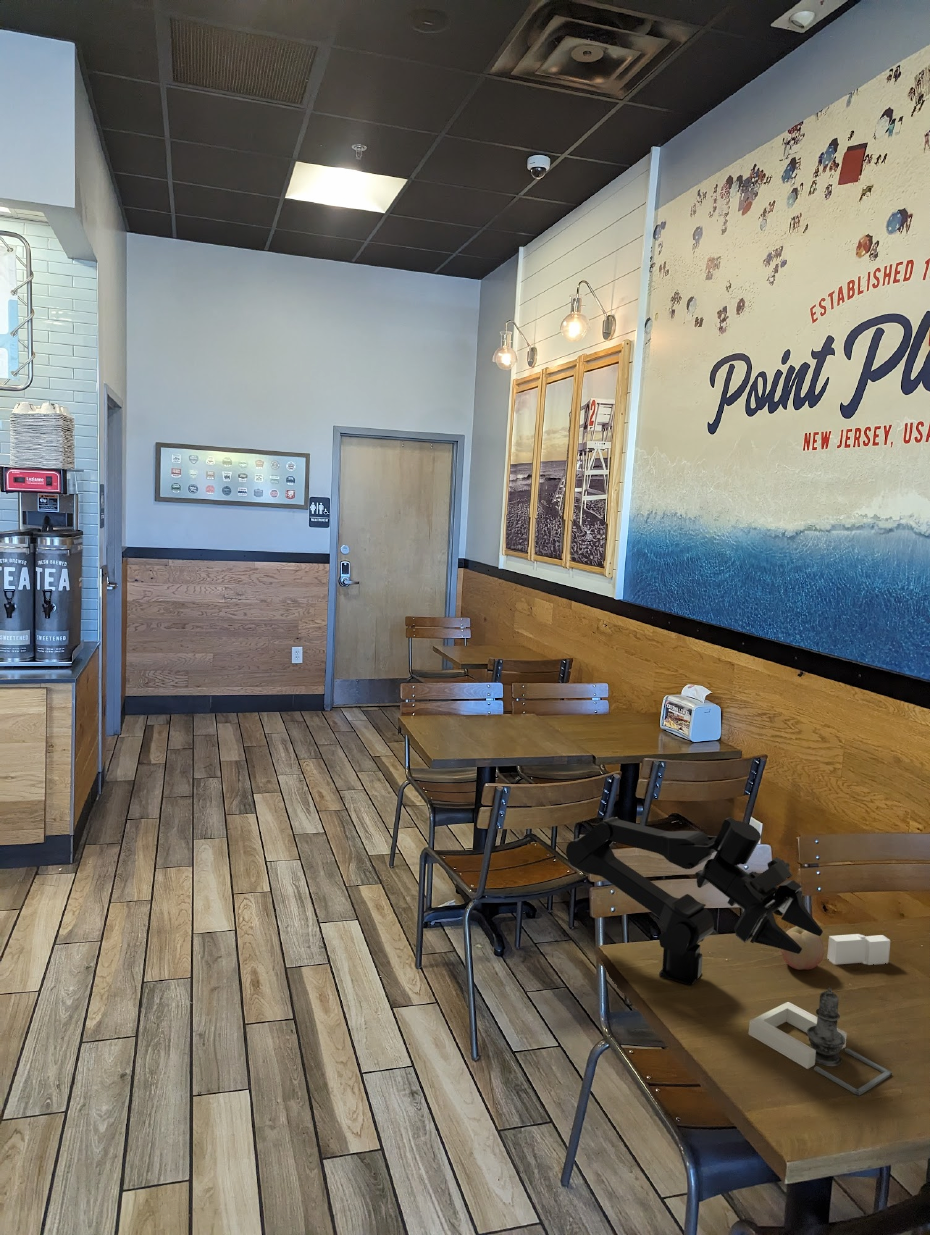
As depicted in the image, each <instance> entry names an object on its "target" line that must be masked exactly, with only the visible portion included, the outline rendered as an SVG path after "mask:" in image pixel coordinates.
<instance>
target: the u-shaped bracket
mask: <svg viewBox="0 0 930 1235" xmlns="http://www.w3.org/2000/svg"><path fill="white" fill-rule="evenodd" d="M817 1018H818V1016H817V1015H814V1014H812V1013H810V1012H808V1011H806V1010H805V1009H803V1008H801V1007H799V1006H797V1005H795V1004H793V1003H791V1002H789V1001H787V1002H784V1003H782V1004H781V1005H779V1006H777V1007H775V1008H773V1009H770V1010H768V1011H766V1012H763V1013H762V1014H760V1015H759V1016H756V1017H754V1018H752V1019H750V1020H749V1026H748V1035H749V1036H750V1037H752V1038H754V1039H756V1040H758V1041H759V1042H761V1043H763V1044H764V1045H766V1046H768V1047H770V1048H771V1049H773V1050H775V1051H777V1053H780V1054H781V1055H784V1056H785V1057H787V1058H788V1059H790V1060H791V1061H793V1062H795V1063H796V1064H798V1065H800V1066H802V1067H803V1068H805V1069H807V1070H809V1069H810V1068H812V1067H815V1065H816V1062H815V1056H816V1050H814V1049H813V1048H811V1047H812V1046H809V1045H807V1044H805V1043H804V1042H802V1041H801V1040H799V1039H797V1038H795V1037H793V1036H791V1035H790V1034H788V1033H786V1032H784V1031H782V1030H781V1029H779V1028H778V1026H780V1025H783V1024H784V1023H788V1024H789V1025H791V1026H793V1027H795V1028H797V1029H799V1030H800V1031H802V1032H804V1033H806V1034H807V1030H808V1028H810V1027H812V1026H816V1025H817ZM837 1031H838V1032H839V1033H841V1034H842V1035H843V1036H844V1038H845V1044H844V1045H843V1047H842V1049H841V1050H843V1049H846V1047H847V1046H846V1045H847V1035H848V1033H847V1031H844V1030H842V1029H840V1028H838V1027H837Z"/></svg>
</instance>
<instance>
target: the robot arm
mask: <svg viewBox="0 0 930 1235" xmlns="http://www.w3.org/2000/svg"><path fill="white" fill-rule="evenodd" d="M761 838H762V835H761V833H760V831H759V830H758V829H757V828H755V826H753V825H751V824H750V823H746V822H744V821H741V820H736V819H734V818H733V817H727V818H725V819H724V820H723V822H722V824H721V828H720V830H719V832H718V833H717V835H716V836H715V835H714V836H713V835H707V834H706V833H705V832H702V831H698V830H697V831H696V830H676V831H667V830H664V829H659V828H655V827H651V826H646V825H642V824H638V823H633V822H631V821H626V820H623V819H620V818H618V817H615V816H612V817H609V818H606V819H604V820H601V821H600V822H599V823H598V824H597V825H595V827H593V829H591V830H590V831H588V832H587V833H586V834H584V835H583V836H580V837H579V838H575V839H574V840H570V841H569V842H568V843H567V845H566V848H565V853H566V855H565V856H566V859H567V863H568V864H569V865H570V866H571V867H572V868H574V869H576V870H579V871H581V872H582V873H585V874H589V875H592V876H599V877H601V878H603V879H604V880H606V881H607V882H609V883H610V884H611V885H613V886H615V888H617V889H618V890H620V891H621V892H622V893H624V894H625V895H627V896H628V897H630V898H631V899H632V900H633V901H635V902H637V903H638V904H639V905H641V906H642V907H644V908H645V909H646V910H648V911H649V912H650V913H652V914H653V915H655V916H656V917H658V919H659V920H660V922H661V924H662V926H663V928H664V929H665V931H664V932H662V933H660V934H658V941H659V945H660V947H661V948H663V952H662V953H663V954H662V967H661V969H660V971H659V973H658V975H659V977H661V978H665V979H668V980H672V981H675V982H677V983H682V984H684V985H687V986H693V985H694V984H695V982H696V981H697V980H698V979H699V978H700V977H701V975H702V971H703V970H702V969H703V953H701V944H699V943H701V942H703V941H704V940H705V938H706V937H707V938H708V936H710V935H711V934H712V933H713V931H714V929H715V921H714V919H713V914H712V913H711V912H710V910H708V909H707V908H706V903H702V902H699V901H698V900H697V899H695V898H694V897H693V896H692V895H691V894H688V893H686V894H684V895H682V896H681V897H674V896H673V895H671V894H669V893H668V892H667V891H665V890H664V889H663V888H661V887H659V886H658V885H656V883H654V882H652V881H650V880H649V879H648V878H646V877H645V876H643V874H640V873H639V872H638V871H636V870H635V869H633V868H632V867H630V866H629V865H627V864H626V863H624V861H621V860H620V859H619V858H617V857H616V855H615V854H614V851H613V850H612V847H611V845H613V843H618V844H621V845H625V846H629V847H633V848H637V849H640V850H644V851H648V852H651V853H656V854H658V855H660V856H662V857H663V858H664V859H666V861H668V862H669V863H671V864H674V865H675V866H677V867H679V868H682V869H684V870H692V869H694V868H695V867H698V866H699V865H701V864H703V863H705V864H704V866H703V868H702V869H700V870H697V871H695V873H694V875H695V878H696V885H697V888H701V889H702V887H704V886H706V885H707V884H711V886H713V887H714V888H716V889H717V890H718V891H719V892H720V893H721V894H723V895H724V896H725V897H727V898H728V901H727V902H726V903H727V904H728V905H730V906H731V907H733V906H735V905H737V906H738V907H739V908H740V909H742V910H743V911H742V913H741V915H740V917H739V919H738V921H737V922H736V923H735V925H734V927H733V930H734V933H735V936H736V937H737V938H738V939H739V940H740V941H741V942H743V943H747V942H749V941H750V943H751V944H755V943H756V944H760V945H765V946H767V947H773V948H776V949H780V950H781V949H783V950H786V951H790V952H793V953H797V954H800V952H801V951H802V948H801V947H800V946H799V945H798V944H797V943H796V942H795V941H794V940H793V939H792V938H791V937H790V936H789V935H788V934H787V933H786V932H787V931H784V930H783V929H782V928H781V927H780V926H779V925H778V924H777V922H776V919H775V916H774V915H776V916H778V917H779V916H780V917H781V920H782V921H784V922H787V923H788V924H790V925H793V926H794V927H796V926H797V927H799V928H801V929H804V930H806V931H808V932H810V933H813V934H815V935H818V936H820V937H821V936H822V934H823V932H824V930H823V929H822V928H821V926H820V925H819V923H817V921H816V920H815V919H814V918H813V916H812V915H811V913H810V912H809V910H807V908H806V906H805V905H804V901H803V900H804V899H803V894H804V893H803V891H802V889H803V886H802V885H801V884H799V883H798V882H797V881H795V880H794V879H791V880H790V878H791V877H793V874H792V873H791V871H790V863H788V862H786V861H785V860H784V859H781V858H779V857H777V856H776V857H775V858H773V859H772V860H770V861H769V862H767V869H766V870H764V871H763V872H762V873H760V874H759V873H758V872H756V871H751V872H749V873H748V872H747V871H746V870H744V869H743V868H742V867H740V866H739V865H746V864H747V863H748V862H749V861H750V859H751V857H752V854H753V853H754V851H755V850H756V847H758V846H757V845H758V844H759V842H760V840H762V839H761ZM714 853H715V854H714ZM713 854H714V857H713V858H711V857H712V856H713Z"/></svg>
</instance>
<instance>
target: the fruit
mask: <svg viewBox="0 0 930 1235" xmlns="http://www.w3.org/2000/svg"><path fill="white" fill-rule="evenodd" d="M785 932H786V933H787V934H788V935H789V936H790V937H791V938H792V939H793V940H794V941H795V942H796V943H797V944H798V945H799V946H800V947H801V948H802V951H801V952H800V954H797V953H793V952H790V951H786V950H783V949H780V953H781V955H782V958H783V960H784V961H785V963H786V964H787V965H788V966H789V967H791V968H792V969H795V970H798V971H799V970H802V971H803V970H806V971H807V970H812V969H814V968H816V966H818V965H819V964H820V963H821V962H822V960H823V958H824V954H825V953H824V952H825V947H824V943H823V939H822V937H821V936H818V935H815V934H813V933H810V932H808V931H806V930H804V929H801V928H799V927H797V926H793V927H791V928H790V929H788V930H787V931H785Z"/></svg>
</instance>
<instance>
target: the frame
mask: <svg viewBox="0 0 930 1235" xmlns="http://www.w3.org/2000/svg"><path fill="white" fill-rule="evenodd" d="M844 1052H845V1054H849V1055H850V1056H852V1057H854V1058H855V1059H857V1060H859V1061H861V1062H862V1063H865V1064H867V1065H868V1066H870V1067H872V1068H873V1069H876V1070H878V1071H879V1072H880V1074H879V1075H878V1076H876V1077H874V1078H873V1079H871V1080H870V1081H868V1082H866V1083H865V1084H863V1085H862V1086H860V1087H859V1088H855V1087H853V1086H852V1085H850V1084H849V1083H846V1082H845V1081H843V1080H842V1079H840V1078H838V1077H837V1076H834V1075H833V1074H831V1073H830V1072H828V1071H826V1070H824V1069H823V1068H821V1067H819V1066H818V1065H817V1066H813V1067H814V1068H813V1070H814V1071H815V1072H817V1073H819V1074H821V1075H822V1076H824V1077H825V1078H827V1079H829V1080H831V1081H832V1082H834V1083H836V1084H838V1085H839V1086H841V1087H843V1088H845V1089H847V1090H848V1091H849V1092H851V1093H853V1094H855V1095H856V1096H858V1097H860V1096H862V1095H863V1094H864V1093H866V1092H867V1091H869V1090H870V1089H872V1088H874V1087H875V1086H877V1085H878V1084H880V1083H881V1082H883V1081H884V1080H886V1079H887V1078H889V1077H890V1076H892V1074H893V1071H890V1070H888V1069H886V1068H884V1067H883V1066H881V1065H879V1064H877V1063H875V1062H873V1061H872V1060H870V1059H869V1058H866V1057H864V1056H862V1055H861V1054H859V1053H857V1052H856V1051H854V1050H852V1049H850V1048H848V1047H847V1048H844Z"/></svg>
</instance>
